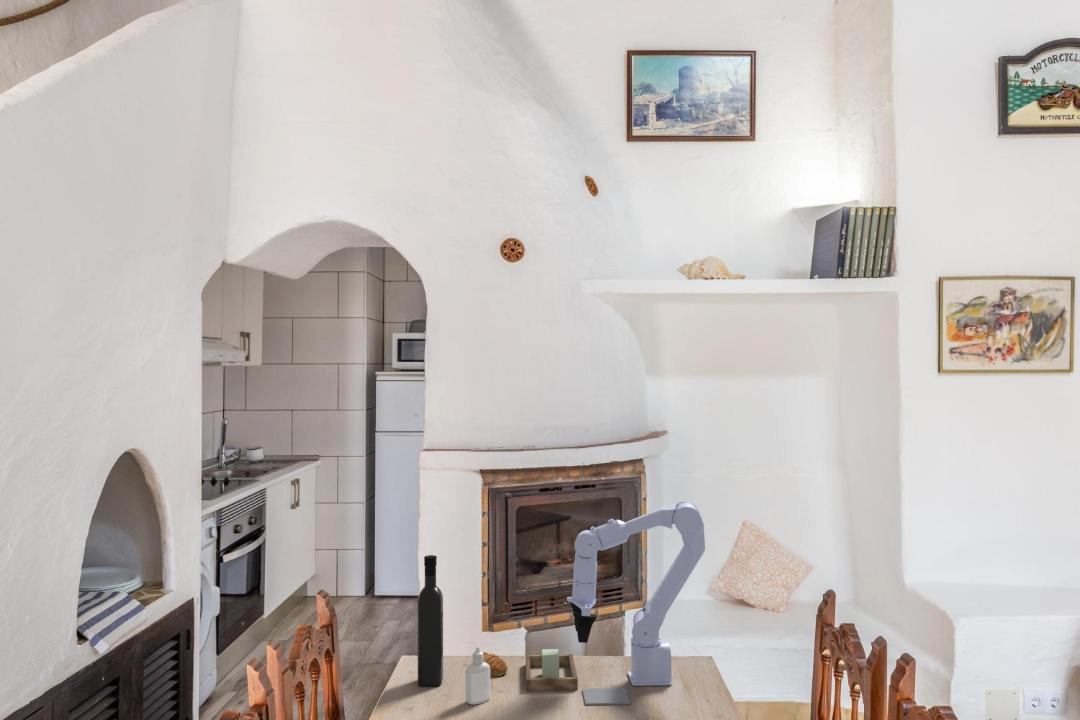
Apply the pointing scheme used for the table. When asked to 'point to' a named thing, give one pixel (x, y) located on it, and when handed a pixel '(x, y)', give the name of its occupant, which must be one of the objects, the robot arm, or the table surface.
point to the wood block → (550, 663)
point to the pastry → (495, 664)
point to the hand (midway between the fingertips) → (581, 636)
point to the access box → (551, 683)
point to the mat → (605, 696)
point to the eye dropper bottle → (477, 680)
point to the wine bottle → (430, 628)
